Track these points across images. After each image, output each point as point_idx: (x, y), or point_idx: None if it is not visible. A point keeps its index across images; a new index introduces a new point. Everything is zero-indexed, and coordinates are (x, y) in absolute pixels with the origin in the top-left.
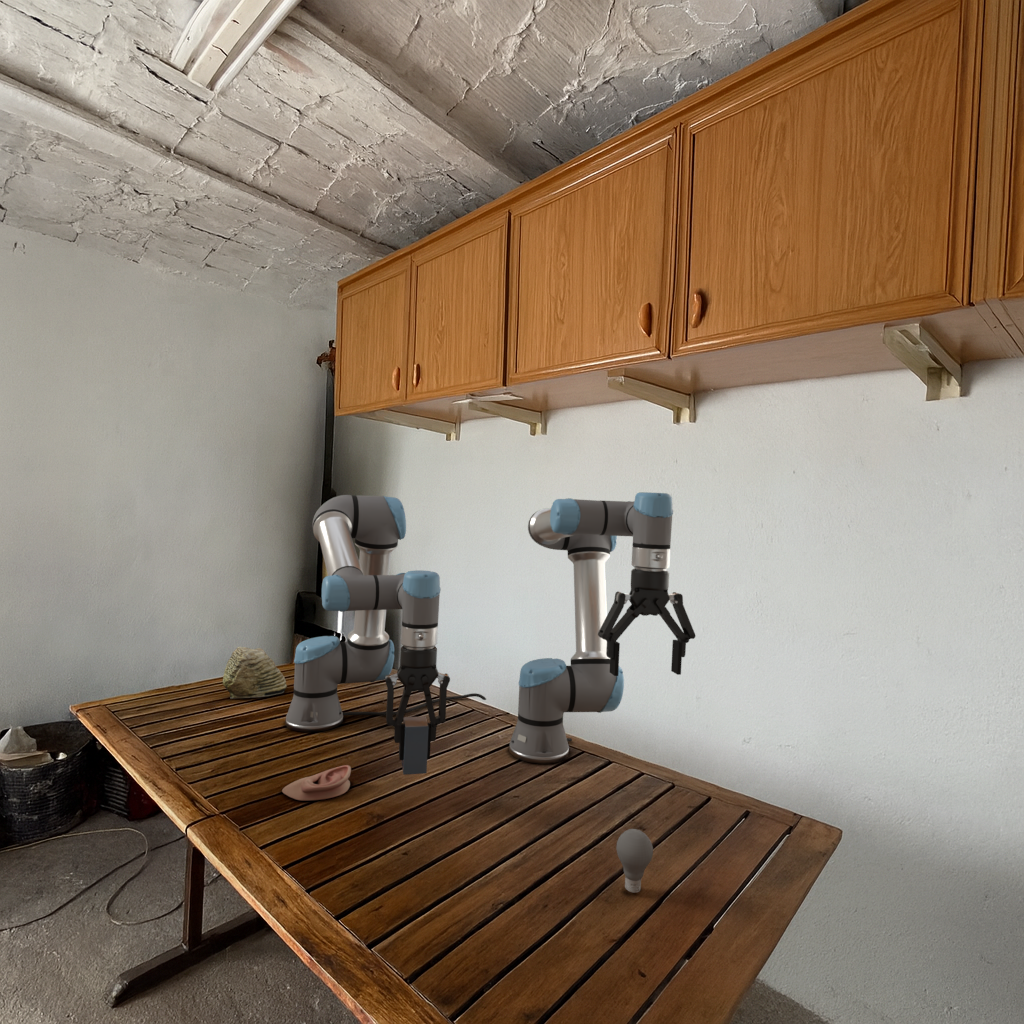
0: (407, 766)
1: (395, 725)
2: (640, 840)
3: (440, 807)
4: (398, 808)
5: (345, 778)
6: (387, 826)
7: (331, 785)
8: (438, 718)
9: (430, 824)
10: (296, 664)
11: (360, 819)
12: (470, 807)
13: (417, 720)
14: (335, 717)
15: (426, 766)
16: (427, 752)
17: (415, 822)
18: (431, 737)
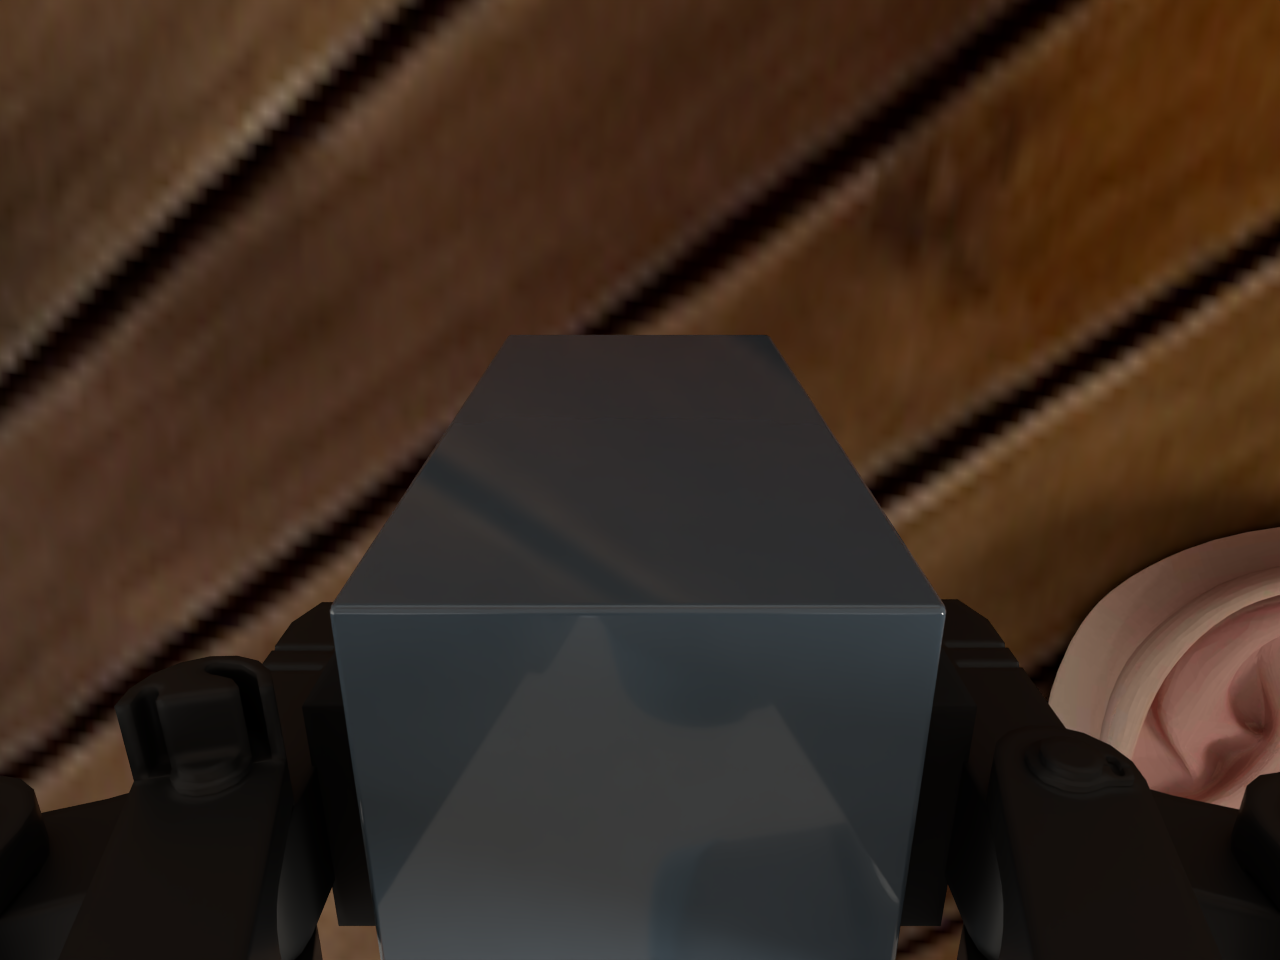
0: (737, 354)
1: (1134, 773)
2: None
3: (425, 300)
4: (748, 331)
5: (1154, 660)
6: (866, 45)
7: (1268, 586)
8: (38, 906)
9: (517, 22)
10: None
11: (1055, 199)
12: (185, 265)
13: (594, 948)
14: None
15: (499, 351)
16: None
17: (637, 78)
18: None
